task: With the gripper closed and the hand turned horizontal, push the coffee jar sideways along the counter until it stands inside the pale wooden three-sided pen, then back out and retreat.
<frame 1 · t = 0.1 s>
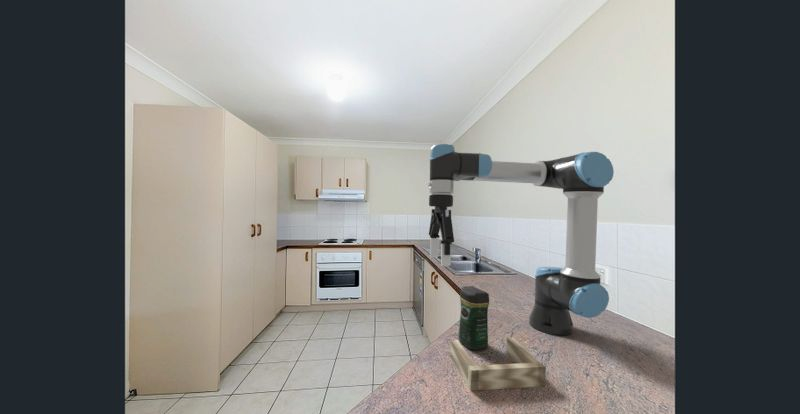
hand: (439, 261, 90), 28 cm above the countertop, tool pointing down, fingers open, 13 cm apart
coffee jar: (472, 344, 95), on the countertop
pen: (493, 369, 80), on the countertop
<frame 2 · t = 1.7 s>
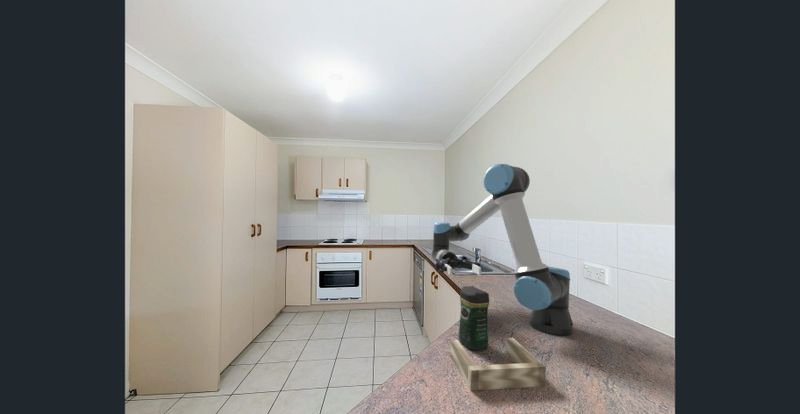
hand: (465, 271, 103), 22 cm above the countertop, tool horizontal, fingers open, 10 cm apart
nothing on the countertop moved.
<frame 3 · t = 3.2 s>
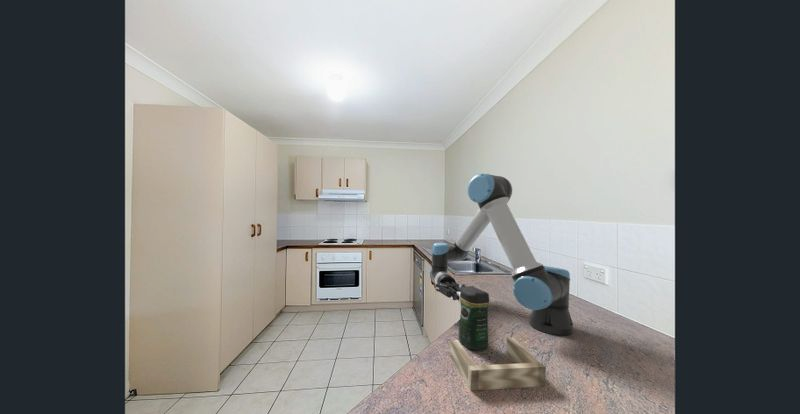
hand: (464, 301, 102), 11 cm above the countertop, tool horizontal, fingers closed
nothing on the countertop moved.
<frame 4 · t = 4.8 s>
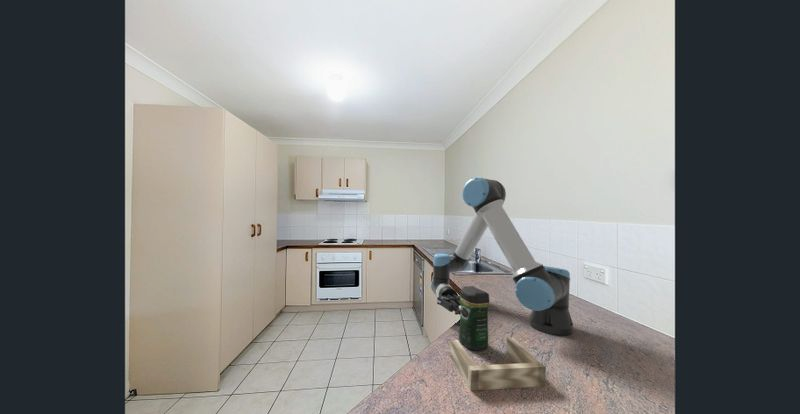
hand: (467, 316, 99), 7 cm above the countertop, tool horizontal, fingers closed
coffee jar: (473, 344, 94), on the countertop, touching gripper
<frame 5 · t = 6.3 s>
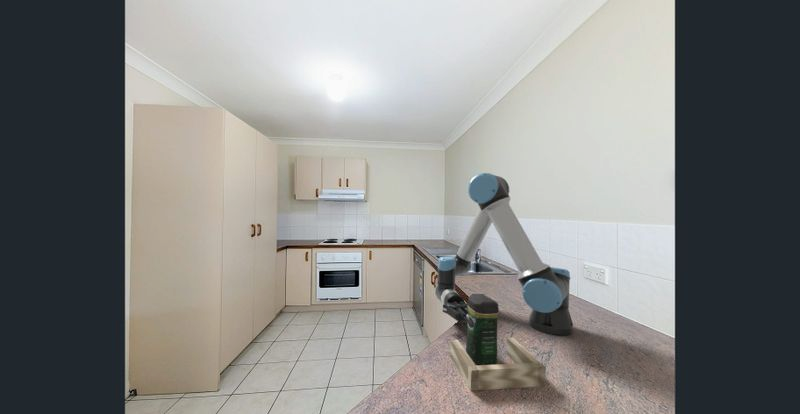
hand: (476, 326, 90), 7 cm above the countertop, tool horizontal, fingers closed
coffee jar: (481, 358, 86), on the countertop, touching gripper
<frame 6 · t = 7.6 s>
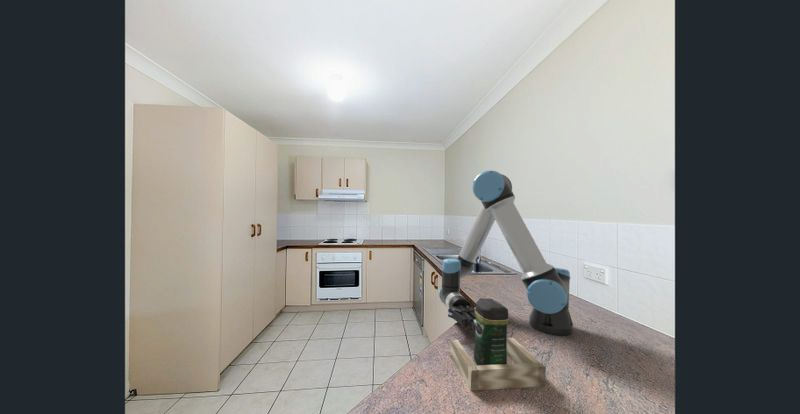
hand: (484, 332, 86), 8 cm above the countertop, tool horizontal, fingers closed
coffee jar: (489, 366, 82), on the countertop, touching gripper
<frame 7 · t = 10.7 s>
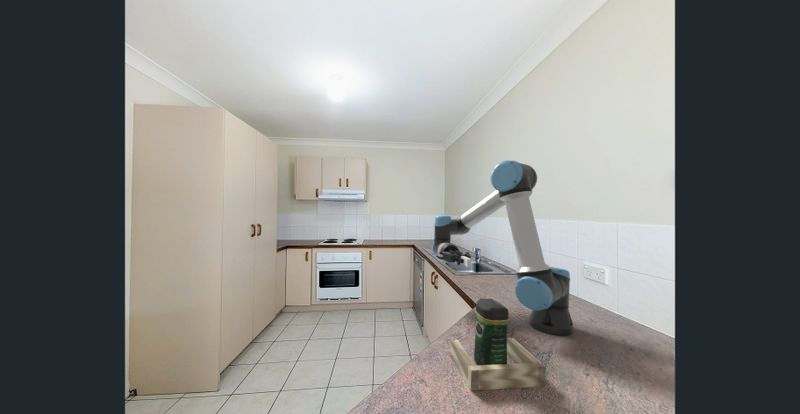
hand: (469, 263, 100), 26 cm above the countertop, tool horizontal, fingers closed
coffee jar: (489, 366, 82), on the countertop
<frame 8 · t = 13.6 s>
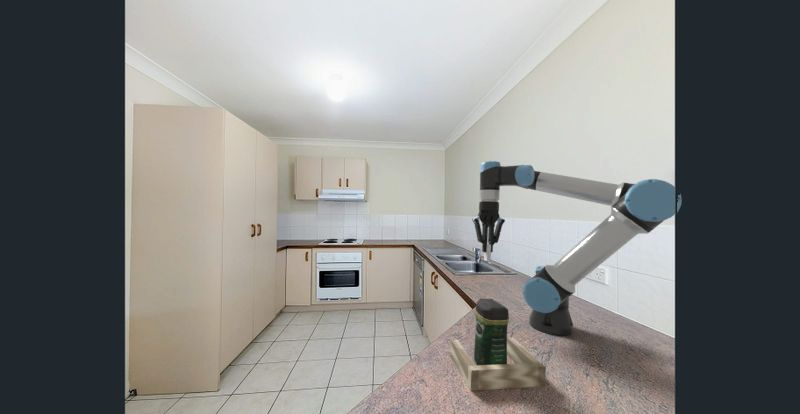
hand: (487, 260, 113), 24 cm above the countertop, tool pointing down, fingers closed
nothing on the countertop moved.
at the end: coffee jar inside the target area (0.9 cm from its centre), on the countertop; coffee jar tilted 0° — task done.
